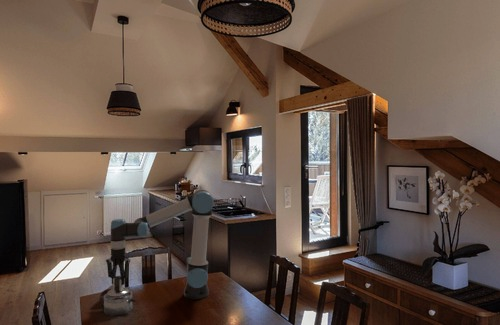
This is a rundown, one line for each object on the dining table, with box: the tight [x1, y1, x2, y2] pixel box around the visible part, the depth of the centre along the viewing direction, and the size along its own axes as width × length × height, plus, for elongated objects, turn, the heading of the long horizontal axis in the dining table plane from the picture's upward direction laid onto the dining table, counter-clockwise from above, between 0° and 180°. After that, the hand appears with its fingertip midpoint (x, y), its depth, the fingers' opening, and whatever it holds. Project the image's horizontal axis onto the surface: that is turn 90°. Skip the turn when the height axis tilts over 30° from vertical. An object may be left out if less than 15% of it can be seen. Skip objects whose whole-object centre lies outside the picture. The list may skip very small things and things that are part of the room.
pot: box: [99, 290, 138, 317], centre depth 190 cm, size 21×15×8 cm
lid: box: [108, 275, 130, 297], centre depth 190 cm, size 11×11×9 cm
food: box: [99, 284, 113, 306], centre depth 206 cm, size 21×9×9 cm, turn 12°
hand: (118, 290), depth 190 cm, fingers closed on lid, 3 cm apart
